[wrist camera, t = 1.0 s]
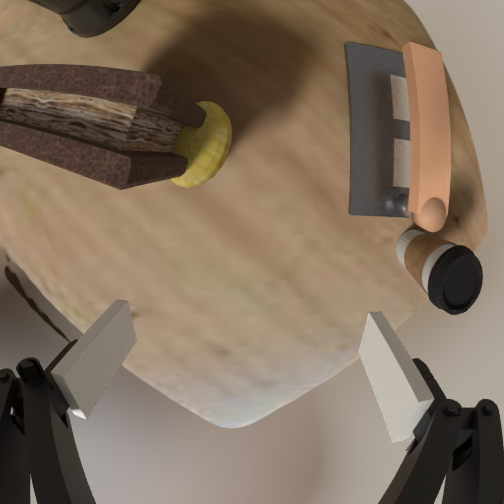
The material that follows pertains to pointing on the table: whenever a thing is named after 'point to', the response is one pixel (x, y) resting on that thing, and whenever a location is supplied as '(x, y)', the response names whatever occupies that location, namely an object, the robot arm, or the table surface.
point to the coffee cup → (441, 270)
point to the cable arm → (428, 136)
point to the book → (111, 124)
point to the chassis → (378, 132)
